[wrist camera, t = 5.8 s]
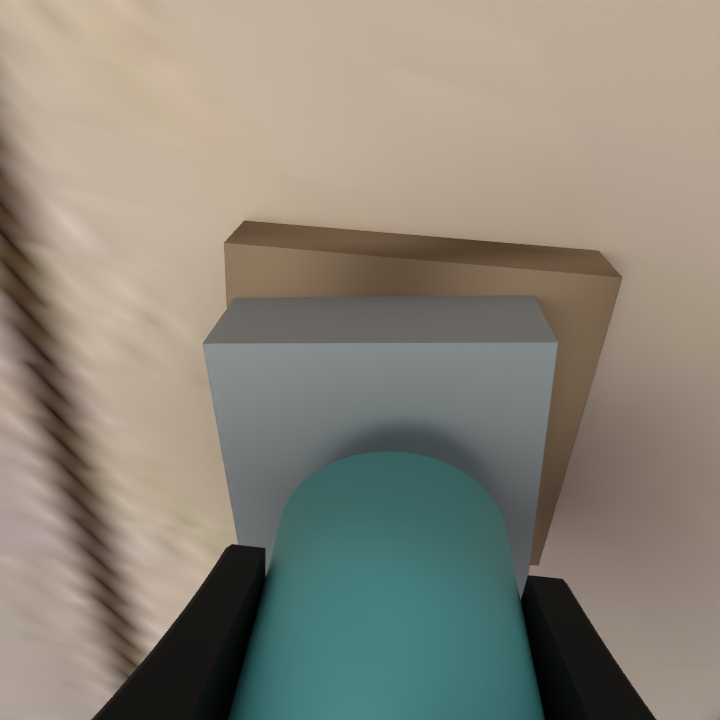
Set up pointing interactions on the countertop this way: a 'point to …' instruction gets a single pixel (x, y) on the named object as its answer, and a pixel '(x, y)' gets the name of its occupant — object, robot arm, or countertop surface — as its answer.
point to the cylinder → (389, 602)
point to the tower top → (381, 396)
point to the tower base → (448, 278)
